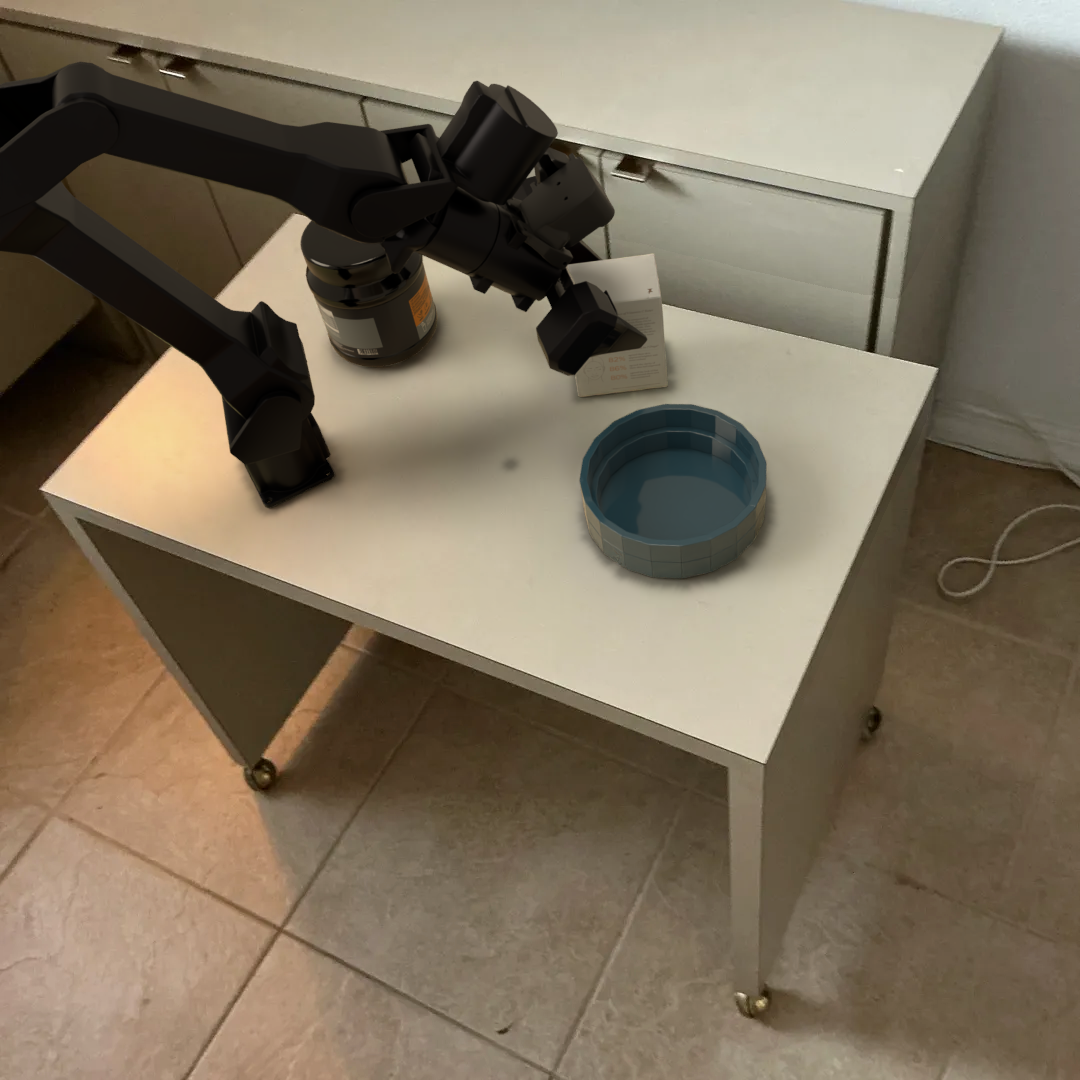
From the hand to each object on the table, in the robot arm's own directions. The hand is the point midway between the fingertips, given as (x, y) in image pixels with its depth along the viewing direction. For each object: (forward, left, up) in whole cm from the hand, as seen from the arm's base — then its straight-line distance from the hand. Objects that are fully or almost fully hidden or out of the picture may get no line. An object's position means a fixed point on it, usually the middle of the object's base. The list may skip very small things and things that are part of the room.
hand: (625, 307), depth 94 cm
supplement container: (-17, +17, -7) cm, 25 cm away
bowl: (-5, -16, -7) cm, 18 cm away
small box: (-1, 0, -7) cm, 7 cm away
